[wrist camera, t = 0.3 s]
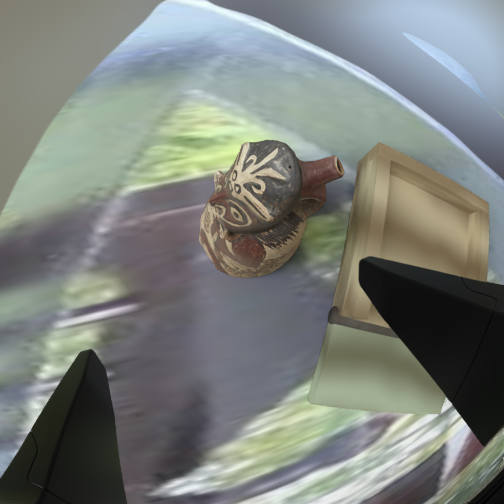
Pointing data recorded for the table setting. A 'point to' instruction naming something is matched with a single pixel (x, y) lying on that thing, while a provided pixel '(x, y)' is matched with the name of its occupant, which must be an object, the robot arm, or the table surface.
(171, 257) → the table surface
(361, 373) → the shallow wooden tray
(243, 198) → the figurine
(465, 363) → the robot arm
